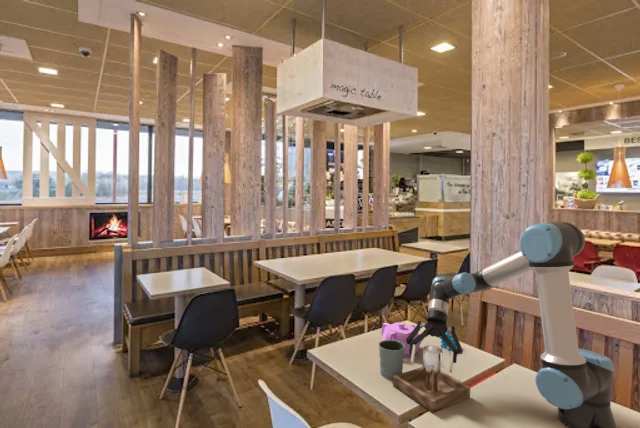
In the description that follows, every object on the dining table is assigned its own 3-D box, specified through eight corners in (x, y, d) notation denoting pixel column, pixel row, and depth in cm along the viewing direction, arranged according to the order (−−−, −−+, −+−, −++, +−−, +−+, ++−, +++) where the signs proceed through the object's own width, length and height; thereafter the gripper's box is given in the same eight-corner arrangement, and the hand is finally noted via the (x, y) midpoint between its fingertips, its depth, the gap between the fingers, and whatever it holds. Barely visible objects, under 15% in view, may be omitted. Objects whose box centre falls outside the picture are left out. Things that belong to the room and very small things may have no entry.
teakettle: (379, 341, 179) (380, 316, 178) (415, 342, 178) (416, 317, 178) (384, 357, 162) (385, 330, 161) (423, 358, 162) (425, 331, 161)
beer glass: (428, 395, 130) (429, 354, 129) (417, 385, 137) (419, 346, 136) (445, 393, 132) (446, 352, 131) (434, 383, 139) (435, 344, 138)
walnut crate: (469, 397, 131) (470, 387, 131) (432, 413, 122) (432, 401, 121) (429, 374, 148) (429, 364, 147) (393, 386, 138) (393, 376, 138)
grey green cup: (407, 372, 149) (408, 343, 148) (399, 383, 140) (400, 352, 140) (383, 365, 154) (384, 337, 153) (374, 376, 146) (374, 346, 145)
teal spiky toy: (448, 351, 165) (437, 330, 171) (439, 357, 169) (429, 336, 175) (463, 349, 171) (452, 329, 177) (454, 355, 175) (444, 335, 181)
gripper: (471, 323, 144) (468, 378, 131) (406, 313, 154) (397, 363, 141) (471, 314, 138) (468, 370, 126) (404, 304, 149) (395, 355, 136)
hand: (430, 366), depth 133 cm, fingers open, 13 cm apart
